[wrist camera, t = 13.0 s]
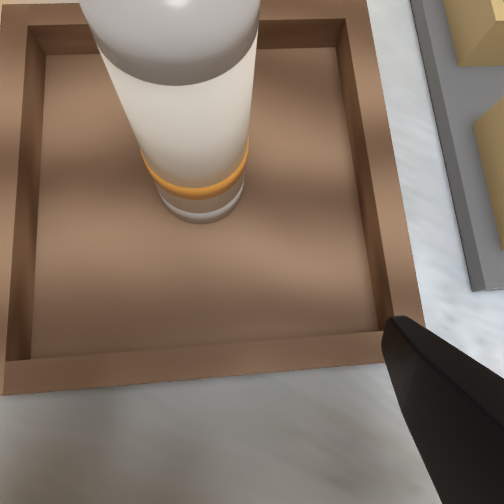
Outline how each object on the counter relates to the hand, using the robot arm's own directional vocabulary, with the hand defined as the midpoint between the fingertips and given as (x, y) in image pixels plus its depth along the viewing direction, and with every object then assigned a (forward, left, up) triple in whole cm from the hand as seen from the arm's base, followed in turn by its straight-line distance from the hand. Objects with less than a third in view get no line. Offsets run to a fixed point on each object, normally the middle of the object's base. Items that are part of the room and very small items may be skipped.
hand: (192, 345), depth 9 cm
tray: (+7, +1, -9) cm, 12 cm away
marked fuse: (+7, +1, -8) cm, 11 cm away
